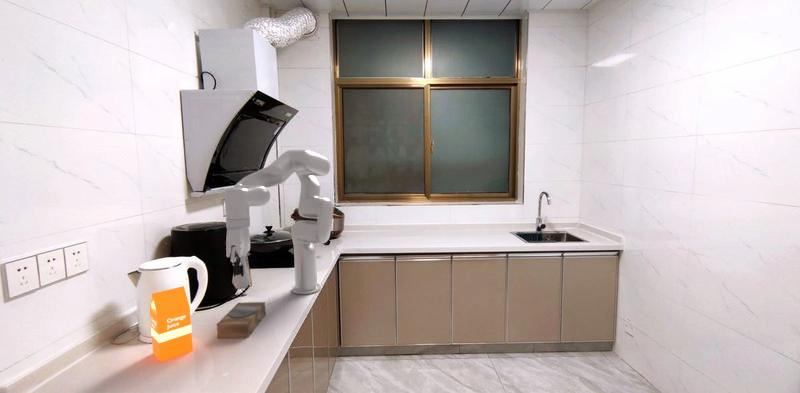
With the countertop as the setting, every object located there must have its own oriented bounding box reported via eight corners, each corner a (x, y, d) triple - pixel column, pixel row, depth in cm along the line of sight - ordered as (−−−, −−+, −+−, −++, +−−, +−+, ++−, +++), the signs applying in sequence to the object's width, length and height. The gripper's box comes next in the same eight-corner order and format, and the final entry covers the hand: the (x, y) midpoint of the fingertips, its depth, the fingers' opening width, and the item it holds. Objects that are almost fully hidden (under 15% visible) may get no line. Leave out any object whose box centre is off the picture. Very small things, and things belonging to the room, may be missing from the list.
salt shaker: (245, 283, 134) (243, 248, 133) (253, 286, 131) (251, 250, 129) (229, 287, 130) (227, 251, 128) (237, 291, 126) (235, 254, 125)
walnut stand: (239, 315, 140) (238, 301, 140) (265, 314, 141) (264, 300, 140) (217, 338, 122) (216, 322, 122) (248, 337, 123) (247, 322, 122)
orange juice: (193, 350, 115) (188, 288, 113) (160, 362, 108) (155, 297, 106) (184, 342, 120) (179, 283, 118) (152, 353, 113) (147, 290, 111)
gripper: (236, 219, 135) (239, 267, 138) (216, 227, 119) (219, 282, 121) (257, 219, 136) (259, 267, 138) (240, 227, 120) (242, 282, 122)
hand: (240, 274), depth 130 cm, fingers closed on salt shaker, 3 cm apart
